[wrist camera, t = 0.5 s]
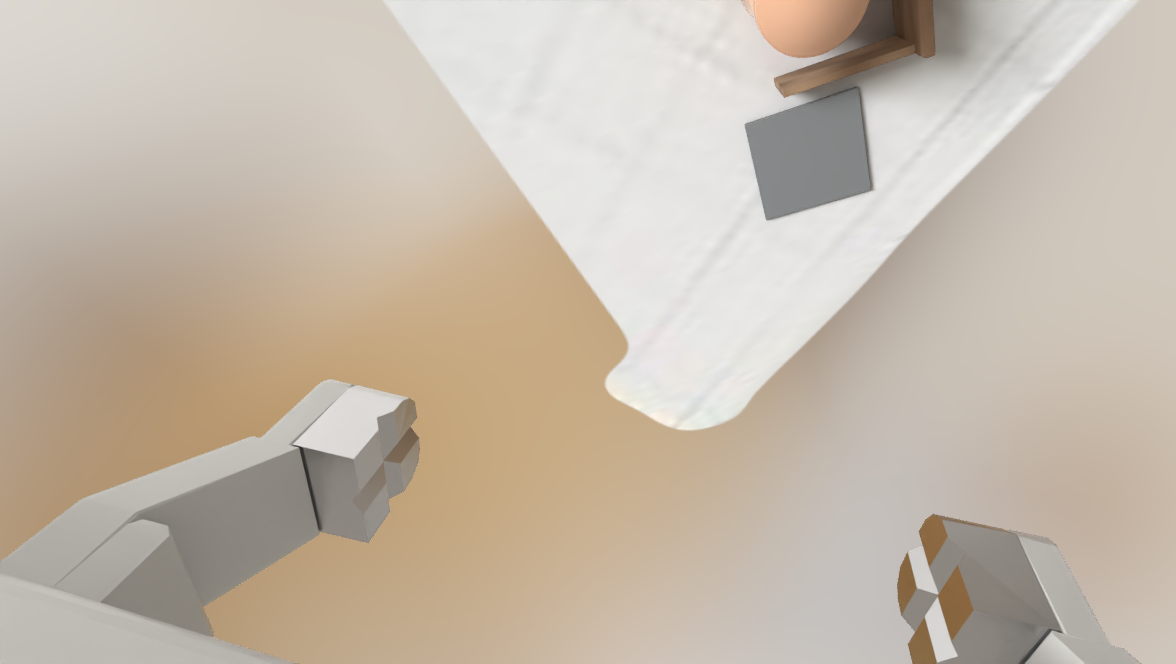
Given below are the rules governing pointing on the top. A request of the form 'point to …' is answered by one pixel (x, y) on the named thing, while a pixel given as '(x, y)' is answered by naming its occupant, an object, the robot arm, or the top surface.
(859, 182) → the slate mat
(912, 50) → the wooden u-shaped open frame
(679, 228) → the top surface
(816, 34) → the peach capped cylinder
